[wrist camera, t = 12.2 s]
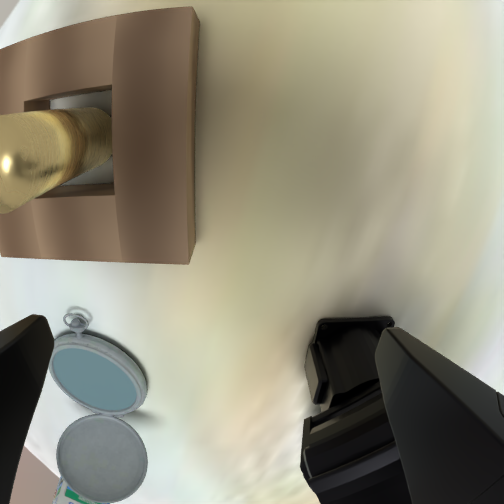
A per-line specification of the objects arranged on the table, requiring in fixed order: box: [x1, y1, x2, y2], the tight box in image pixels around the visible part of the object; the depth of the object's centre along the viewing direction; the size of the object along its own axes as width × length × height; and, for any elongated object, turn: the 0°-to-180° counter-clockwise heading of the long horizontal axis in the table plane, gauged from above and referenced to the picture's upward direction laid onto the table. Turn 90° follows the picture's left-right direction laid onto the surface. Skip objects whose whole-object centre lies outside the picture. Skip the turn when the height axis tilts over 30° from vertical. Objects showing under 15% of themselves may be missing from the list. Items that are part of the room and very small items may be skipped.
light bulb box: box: [52, 476, 110, 504], centre depth 29 cm, size 11×7×11 cm, turn 145°
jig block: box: [0, 7, 200, 265], centre depth 16 cm, size 14×14×3 cm
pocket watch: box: [49, 314, 148, 503], centre depth 21 cm, size 10×11×15 cm
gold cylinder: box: [0, 107, 112, 214], centre depth 13 cm, size 4×4×9 cm
